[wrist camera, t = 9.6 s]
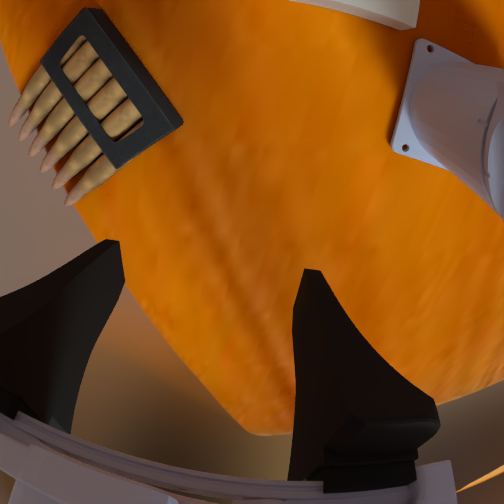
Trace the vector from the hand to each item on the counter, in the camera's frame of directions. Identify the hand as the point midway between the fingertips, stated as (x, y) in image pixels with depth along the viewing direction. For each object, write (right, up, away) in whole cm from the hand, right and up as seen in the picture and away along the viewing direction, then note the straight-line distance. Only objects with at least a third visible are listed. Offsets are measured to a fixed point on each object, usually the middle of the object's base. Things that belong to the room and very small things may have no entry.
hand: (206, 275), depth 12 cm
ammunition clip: (-5, +12, +3) cm, 14 cm away
